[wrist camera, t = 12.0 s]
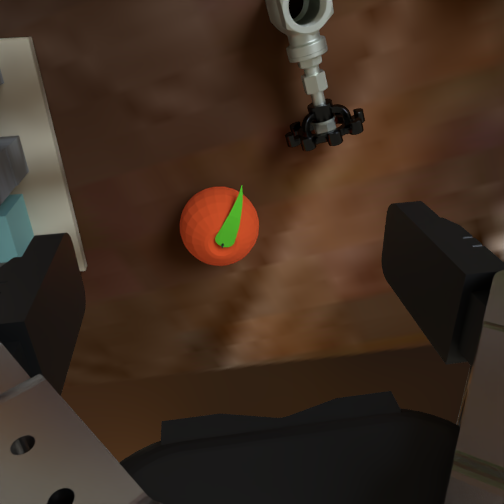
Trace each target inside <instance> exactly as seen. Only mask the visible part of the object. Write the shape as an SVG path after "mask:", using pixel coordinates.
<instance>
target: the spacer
mask: <svg viewBox="0 0 504 504" xmlns="http://www.w3.org/2000/svg"><path fill="white" fill-rule="evenodd" d="M33 237H34V233H33V230H32V226H31V223H30V219H29V216H28V212H27V208H26V205H25V201H24V198H23V194H13V195H8V197H7V198H6V199H5V200H4V202H3V203H2V204H1V205H0V263H4V262H8V261H9V260H11V259H12V258H13V257H22V256H23V254H24V252H25V250H26V249H27V247H28V245H29V243H30V242H31V240H32V238H33Z"/></svg>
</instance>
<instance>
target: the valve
mask: <svg viewBox="0 0 504 504" xmlns="http://www.w3.org/2000/svg"><path fill="white" fill-rule="evenodd" d="M265 3H266V7H267V10H268V14H269V18H270V22H271V23H272V24H273V25H274V26H275V27H276V28H277V29H278V30H279V31H281V32H282V33H284V34H286V35H287V36H288V40H289V44H290V45H289V46H288V47H287V48H286V51H287V55H288V59H289V62H291V63H297V62H298V66H299V68H300V69H304V73H305V74H304V75H302V76H301V79H302V83H303V87H304V91H305V93H306V94H311V98H312V103H311V104H309V105H308V107H307V108H308V112H309V114H308V115H306V116H305V118H304V119H303V122H302V127H301V126H300V122H295V123H292V124H291V125H290V130H291V132H289V133H287V134H286V135H285V137H286V141H287V144H288V147H296V146H298V145H300V144H301V146H302V150H303V151H310V150H313V149H315V148H316V145H317V144H319V143H324V142H328V144H329V145H330V146H336V145H339V144H341V143H342V142H343V138H342V136H343V135H345V134H351V135H356V134H359V133H361V132H363V124H362V123H363V122H364V121H365V118H364V113H363V109H361V108H359V109H354V110H353V111H354V115H353V116H351V114H350V112H349V110H348V109H347V108H346V107H345V106H343V105H339V104H336V105H333V104H332V100H331V99H325V97H324V93H323V91H324V90H325V89H326V88H327V87H328V86H327V81H326V76H325V72H324V70H322V69H319V63H321V62H322V58H321V55H322V54H324V53H326V52H327V50H328V48H327V44H326V39H325V36H320V33H319V30H320V28H321V27H322V26H323V25H324V24H325V23H326V22H327V20H328V19H329V18H330V17H331V15H332V14H333V13H334V11H333V4H332V0H303V8H302V10H301V12H300V14H299V15H298V16H297V17H296V18H294V19H292V18H291V16H290V13H289V0H265ZM335 124H342V125H341V126H340V127H338V128H336V125H335ZM313 130H315V133H316V134H312V133H311V131H313Z"/></svg>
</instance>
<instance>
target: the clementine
mask: <svg viewBox="0 0 504 504" xmlns="http://www.w3.org/2000/svg"><path fill="white" fill-rule="evenodd" d="M258 233H259V220H258V216H257V212H256V210H255V208H254V207H253V205H252V203H251V202H250V201H249V199H248V198H246V197H245V196H244V195H243V192H242V185H241V189H240V192H238V191H237V190H235V189H232V188H227V187H211V188H208V189H204V190H202V191H200V192H198V193H197V194H195V195H194V196H193V197H192V198H191V199H190V200H189V201H188V202H187V204H186V205H185V207H184V209H183V211H182V215H181V219H180V234H181V237H182V240H183V243H184V245H185V247H186V248H187V250H188V251H189V252H190V253H191V254H192V255H193V256H195V257H196V258H197V259H198V260H200V261H202V262H204V263H206V264H209V265H215V266H224V265H229V264H233V263H235V262H237V261H239V260H241V259H243V258H244V257H245V256H246V255H247V254H248V253H249V252H250V250H251V249H252V247H253V246H254V244H255V243H256V240H257V237H258Z"/></svg>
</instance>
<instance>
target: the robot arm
mask: <svg viewBox="0 0 504 504" xmlns="http://www.w3.org/2000/svg"><path fill="white" fill-rule="evenodd" d="M382 269H383V273H384V276H385V278H386V280H387V282H388V283H389V285H390V286H391V287H392V289H393V290H394V292H395V293H396V295H397V296H398V297H399V299H400V300H401V302H402V303H403V304H404V306H405V307H406V309H407V310H408V311H409V313H410V314H411V316H412V317H413V318H414V320H415V321H416V323H417V324H418V326H419V327H420V328H421V330H422V331H423V333H424V334H425V335H426V337H427V338H428V340H429V341H430V342H431V344H432V345H433V347H434V348H435V350H436V351H437V352H438V354H439V355H440V357H441V358H442V359H443V361H444V362H445V364H453V363H461V362H468V363H469V364H470V365H471V366H470V370H469V374H468V378H467V382H466V386H465V391H464V395H463V399H462V403H461V408H460V412H459V417H458V420H457V425H456V424H454V423H452V422H450V421H448V420H445V419H442V418H440V417H437V416H434V415H431V414H427V413H423V412H419V411H413V410H408V409H400V408H399V406H398V404H397V402H396V400H395V398H394V396H393V394H392V392H391V391H389V392H381V393H373V394H366V395H358V396H351V397H343V398H336V399H333V400H331V401H328V402H325V403H323V404H320V405H317V406H315V407H312V408H309V409H306V410H304V411H302V412H298V413H296V414H293V415H290V416H287V417H283V418H270V417H256V416H243V415H230V414H214V415H207V416H199V417H192V418H185V419H177V420H169V421H162V429H161V441H159V442H156V443H154V444H151V445H149V446H147V447H145V448H143V449H141V450H139V451H137V452H135V453H134V454H132V455H130V456H129V457H127V458H125V459H124V460H122V461H121V462H120V463H119V462H118V461H117V460H116V459H115V458H114V457H113V456H112V455H111V453H110V452H109V451H108V450H107V449H106V447H105V446H104V445H103V444H102V443H101V442H100V441H99V439H98V438H97V437H96V436H95V435H94V434H93V433H92V432H91V430H90V429H89V428H88V427H87V426H86V425H85V424H84V422H83V421H82V420H81V419H80V418H79V417H78V415H77V414H76V413H75V412H74V411H73V410H72V409H71V407H70V406H69V405H68V404H67V403H66V402H65V401H64V399H63V398H62V397H61V393H62V389H63V386H64V382H65V379H66V375H67V372H68V368H69V365H70V361H71V358H72V354H73V351H74V347H75V344H76V340H77V337H78V333H79V330H80V326H81V323H82V319H83V316H84V312H85V290H84V285H83V281H82V277H81V273H80V270H79V266H78V262H77V258H76V254H75V250H74V246H73V242H72V239H71V237H70V235H69V234H68V233H56V234H45V235H35V236H34V237H33V238H32V240H31V242H30V243H29V245H28V247H27V249H26V250H25V252H24V254H23V256H22V257H13V258H12V259H11V260H9V261H8V262H7V263H5V264H4V265H3V266H1V267H0V504H504V262H502V261H501V260H500V259H499V258H498V257H497V256H495V255H494V254H493V253H492V252H491V251H490V250H488V249H487V248H486V247H485V246H482V244H481V243H480V242H479V241H478V240H477V239H475V238H472V235H471V234H470V233H468V232H467V231H466V230H465V229H464V228H462V227H461V226H460V225H458V224H456V223H453V222H451V221H449V220H447V219H444V218H440V217H439V216H438V215H437V214H435V213H434V212H433V211H432V210H431V209H430V208H429V207H428V206H426V205H425V204H424V203H423V202H421V201H416V202H405V203H394V204H391V205H390V206H389V208H388V211H387V216H386V225H385V233H384V242H383V251H382Z"/></svg>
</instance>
